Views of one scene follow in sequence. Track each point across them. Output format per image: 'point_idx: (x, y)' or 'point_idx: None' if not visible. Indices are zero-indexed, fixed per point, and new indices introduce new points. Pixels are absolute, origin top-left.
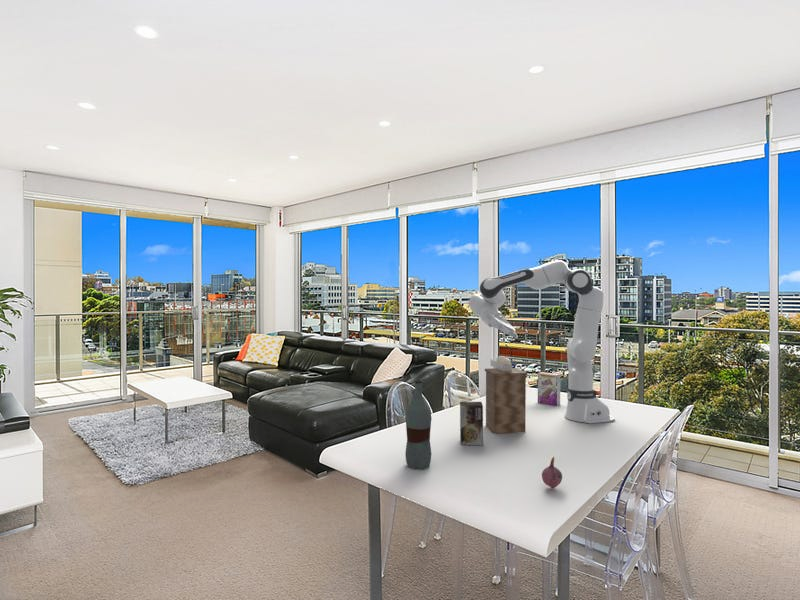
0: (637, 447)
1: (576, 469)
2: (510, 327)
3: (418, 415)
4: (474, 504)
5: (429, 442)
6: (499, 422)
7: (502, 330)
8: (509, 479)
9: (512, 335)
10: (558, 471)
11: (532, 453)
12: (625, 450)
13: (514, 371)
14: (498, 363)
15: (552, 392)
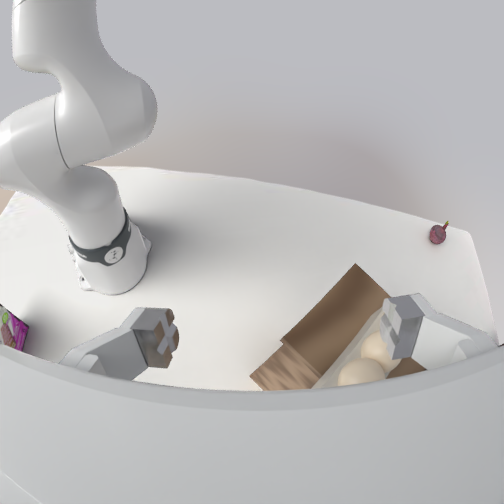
0: (253, 181)
1: (382, 230)
2: (120, 385)
3: None
4: (481, 280)
5: (498, 346)
6: None
7: (447, 361)
8: (446, 277)
9: (130, 375)
10: (439, 225)
11: (380, 284)
12: (277, 191)
13: (365, 308)
14: (389, 371)
15: (10, 324)
